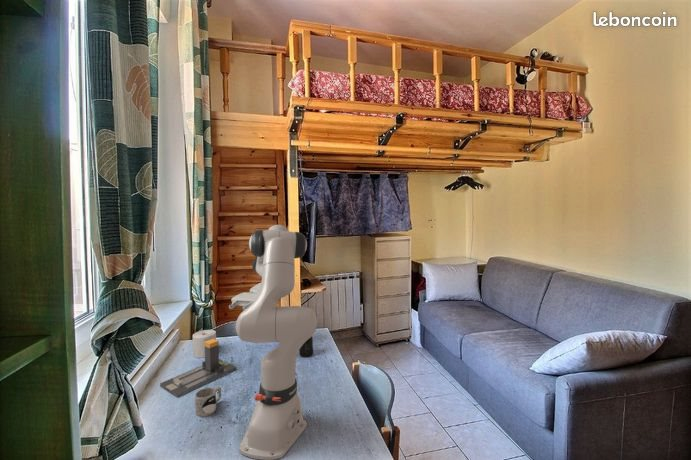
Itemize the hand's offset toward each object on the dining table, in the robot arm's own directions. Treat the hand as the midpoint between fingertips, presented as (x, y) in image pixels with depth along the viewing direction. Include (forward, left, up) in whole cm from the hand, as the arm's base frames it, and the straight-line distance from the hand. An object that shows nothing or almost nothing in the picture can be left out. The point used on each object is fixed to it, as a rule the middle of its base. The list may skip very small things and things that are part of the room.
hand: (236, 308), depth 143 cm
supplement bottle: (+15, -28, -26) cm, 41 cm away
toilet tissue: (+7, +22, -26) cm, 35 cm away
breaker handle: (-9, +7, -24) cm, 27 cm away
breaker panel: (-14, +9, -26) cm, 31 cm away
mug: (-32, -8, -26) cm, 42 cm away
